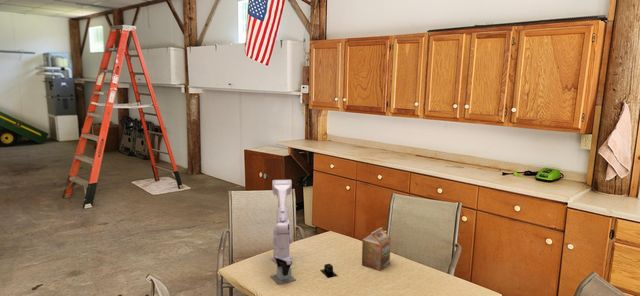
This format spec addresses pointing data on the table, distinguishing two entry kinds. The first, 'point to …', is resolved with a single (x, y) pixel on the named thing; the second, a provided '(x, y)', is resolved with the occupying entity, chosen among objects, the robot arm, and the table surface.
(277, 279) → the mat
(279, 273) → the brick
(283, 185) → the robot arm
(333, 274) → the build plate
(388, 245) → the milk carton
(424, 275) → the table surface
